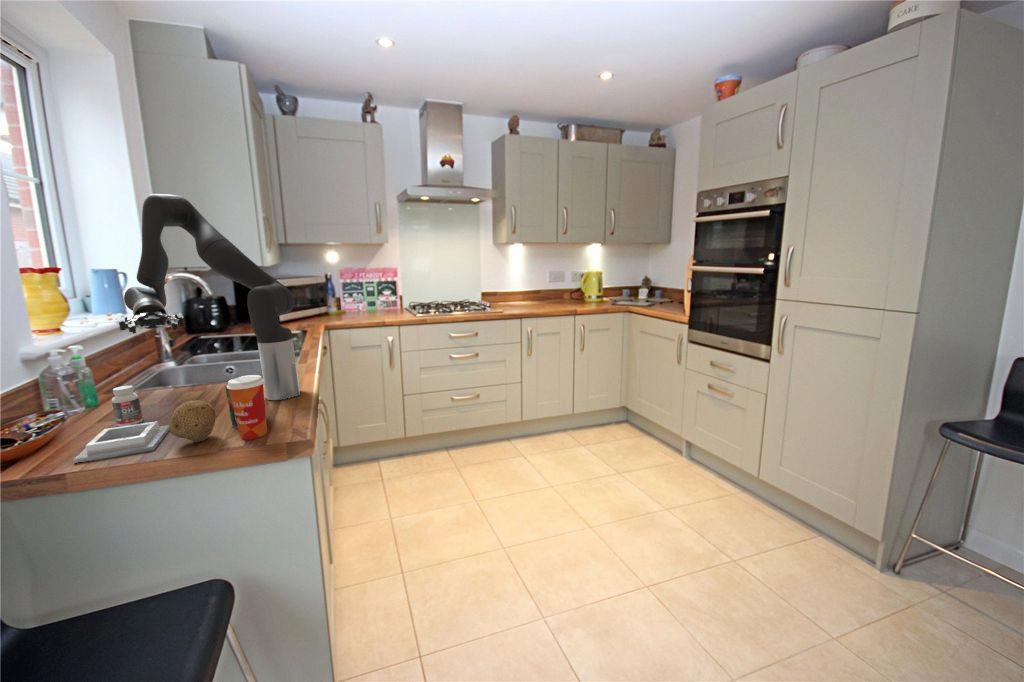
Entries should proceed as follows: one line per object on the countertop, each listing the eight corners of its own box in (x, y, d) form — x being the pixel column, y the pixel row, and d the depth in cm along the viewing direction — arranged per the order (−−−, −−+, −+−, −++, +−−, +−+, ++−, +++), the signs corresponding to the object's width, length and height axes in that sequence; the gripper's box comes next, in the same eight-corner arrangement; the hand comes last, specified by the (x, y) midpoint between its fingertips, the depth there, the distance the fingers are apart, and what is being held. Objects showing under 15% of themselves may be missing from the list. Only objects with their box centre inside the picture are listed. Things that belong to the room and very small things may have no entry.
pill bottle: (126, 428, 118) (118, 391, 116) (111, 426, 119) (103, 390, 117) (148, 420, 123) (141, 385, 121) (134, 418, 124) (126, 383, 122)
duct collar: (170, 428, 116) (168, 417, 116) (154, 450, 104) (151, 437, 103) (100, 439, 111) (97, 427, 110) (74, 463, 98) (70, 450, 98)
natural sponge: (173, 454, 101) (164, 411, 99) (172, 441, 108) (164, 400, 106) (221, 442, 107) (214, 401, 104) (218, 430, 114) (211, 392, 112)
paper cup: (227, 439, 108) (217, 382, 105) (256, 427, 115) (247, 373, 112) (251, 443, 105) (242, 385, 102) (279, 430, 112) (271, 375, 109)
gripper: (116, 301, 130) (118, 317, 119) (178, 299, 139) (185, 313, 128) (120, 327, 132) (122, 344, 121) (180, 322, 142) (187, 339, 130)
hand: (154, 328), depth 124 cm, fingers open, 8 cm apart
